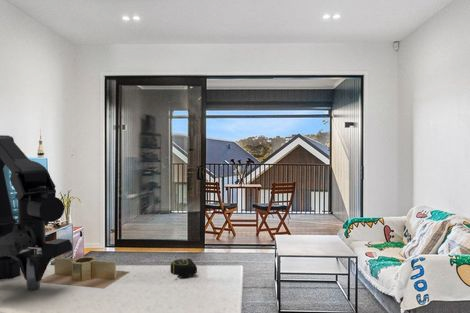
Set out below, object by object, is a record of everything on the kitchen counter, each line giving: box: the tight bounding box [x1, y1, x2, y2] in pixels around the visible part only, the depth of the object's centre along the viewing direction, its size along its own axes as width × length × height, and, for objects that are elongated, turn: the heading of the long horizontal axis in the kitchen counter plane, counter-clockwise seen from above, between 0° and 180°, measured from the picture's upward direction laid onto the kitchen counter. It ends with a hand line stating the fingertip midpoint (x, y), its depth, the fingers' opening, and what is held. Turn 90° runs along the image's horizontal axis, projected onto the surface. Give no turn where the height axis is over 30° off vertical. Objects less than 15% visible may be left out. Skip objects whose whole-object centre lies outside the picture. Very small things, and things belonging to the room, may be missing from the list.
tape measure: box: [169, 258, 198, 278], centre depth 99 cm, size 7×7×4 cm
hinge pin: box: [26, 255, 41, 292], centre depth 88 cm, size 3×3×9 cm
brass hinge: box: [53, 255, 117, 281], centre depth 96 cm, size 19×6×4 cm, turn 76°
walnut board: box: [40, 270, 130, 289], centre depth 96 cm, size 20×12×1 cm, turn 76°
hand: (33, 280), depth 88 cm, fingers closed on hinge pin, 3 cm apart
